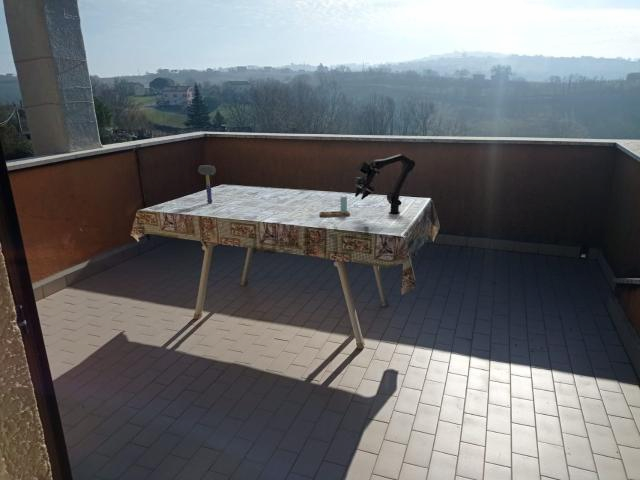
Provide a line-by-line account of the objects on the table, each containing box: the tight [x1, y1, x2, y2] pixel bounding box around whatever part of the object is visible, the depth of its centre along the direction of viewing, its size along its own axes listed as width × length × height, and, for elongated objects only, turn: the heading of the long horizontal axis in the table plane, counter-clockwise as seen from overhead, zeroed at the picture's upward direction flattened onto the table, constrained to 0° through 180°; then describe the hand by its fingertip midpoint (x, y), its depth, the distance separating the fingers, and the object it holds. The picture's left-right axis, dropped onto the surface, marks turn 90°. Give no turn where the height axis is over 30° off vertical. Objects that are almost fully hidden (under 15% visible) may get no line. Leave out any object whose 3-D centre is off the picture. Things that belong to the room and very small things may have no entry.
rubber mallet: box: [197, 164, 217, 204], centre depth 357 cm, size 12×8×30 cm, turn 66°
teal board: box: [340, 195, 348, 213], centre depth 317 cm, size 4×2×13 cm, turn 96°
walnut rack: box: [319, 210, 351, 218], centre depth 318 cm, size 20×7×2 cm, turn 96°
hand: (358, 198), depth 308 cm, fingers open, 9 cm apart
